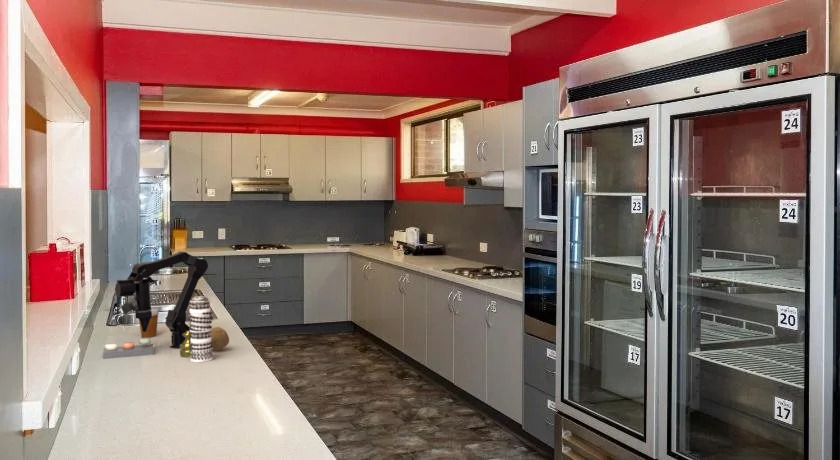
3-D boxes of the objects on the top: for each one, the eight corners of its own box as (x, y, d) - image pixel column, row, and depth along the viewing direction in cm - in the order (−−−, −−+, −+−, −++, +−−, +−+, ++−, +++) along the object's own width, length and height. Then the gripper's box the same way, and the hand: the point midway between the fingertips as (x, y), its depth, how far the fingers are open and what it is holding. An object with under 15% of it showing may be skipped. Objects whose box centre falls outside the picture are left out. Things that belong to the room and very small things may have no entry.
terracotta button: (134, 346, 317) (134, 341, 316) (134, 348, 313) (134, 343, 312) (122, 347, 315) (122, 342, 315) (122, 349, 311) (122, 344, 311)
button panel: (153, 349, 321) (152, 344, 321) (153, 354, 313) (153, 348, 313) (104, 354, 315) (103, 348, 315) (103, 358, 306) (103, 352, 306)
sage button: (150, 341, 319) (150, 337, 319) (150, 344, 315) (150, 339, 315) (139, 342, 317) (139, 338, 317) (139, 344, 313) (139, 340, 313)
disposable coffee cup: (145, 339, 344) (144, 312, 343) (133, 336, 350) (132, 310, 349) (164, 335, 351) (163, 309, 351) (152, 333, 357) (151, 307, 356)
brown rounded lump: (201, 351, 316) (200, 328, 316) (216, 347, 324) (215, 324, 324) (218, 353, 312) (217, 329, 311) (233, 349, 320) (232, 325, 319)
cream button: (117, 347, 314) (117, 343, 314) (117, 349, 310) (116, 345, 310) (105, 348, 313) (105, 343, 313) (105, 350, 309) (105, 346, 309)
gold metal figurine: (193, 357, 306) (192, 333, 305) (176, 357, 308) (175, 332, 307) (202, 353, 313) (201, 329, 313) (185, 353, 315) (184, 329, 314)
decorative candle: (212, 355, 308) (210, 294, 307) (215, 360, 300) (212, 297, 298) (188, 358, 305) (186, 296, 303) (190, 363, 296) (188, 299, 295)
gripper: (122, 292, 321) (124, 329, 322) (121, 298, 303) (123, 337, 304) (150, 290, 324) (152, 326, 326) (150, 296, 307) (152, 335, 308)
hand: (144, 331), depth 316 cm, fingers closed
